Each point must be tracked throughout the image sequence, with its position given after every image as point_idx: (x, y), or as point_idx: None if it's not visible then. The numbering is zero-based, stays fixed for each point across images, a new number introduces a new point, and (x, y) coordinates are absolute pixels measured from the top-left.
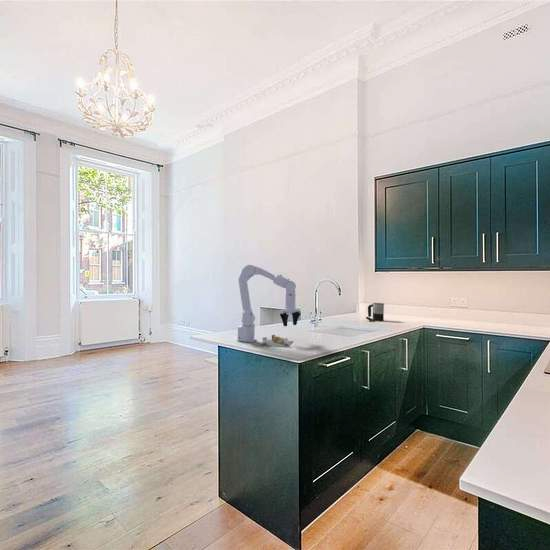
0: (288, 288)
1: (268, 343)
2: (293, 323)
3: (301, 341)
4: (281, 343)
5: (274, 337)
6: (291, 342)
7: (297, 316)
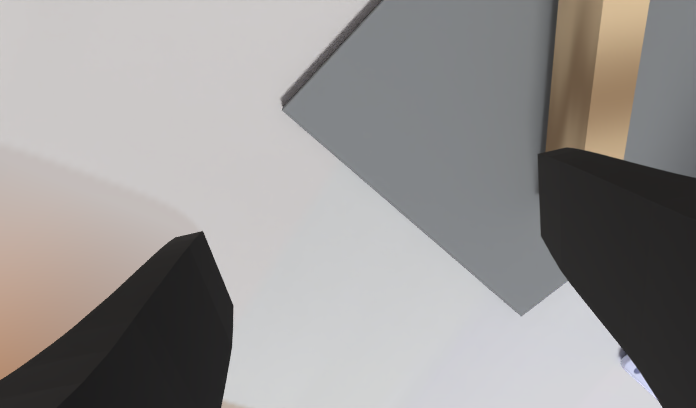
0: None
1: (691, 107)
2: (224, 322)
3: (145, 64)
4: (549, 21)
5: None
6: (365, 22)
7: (59, 397)
